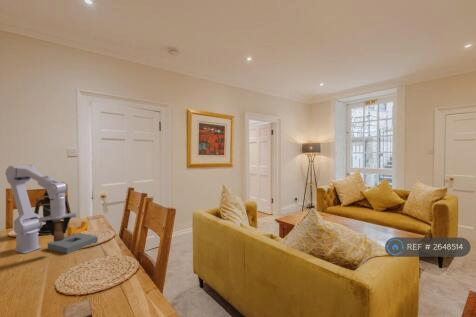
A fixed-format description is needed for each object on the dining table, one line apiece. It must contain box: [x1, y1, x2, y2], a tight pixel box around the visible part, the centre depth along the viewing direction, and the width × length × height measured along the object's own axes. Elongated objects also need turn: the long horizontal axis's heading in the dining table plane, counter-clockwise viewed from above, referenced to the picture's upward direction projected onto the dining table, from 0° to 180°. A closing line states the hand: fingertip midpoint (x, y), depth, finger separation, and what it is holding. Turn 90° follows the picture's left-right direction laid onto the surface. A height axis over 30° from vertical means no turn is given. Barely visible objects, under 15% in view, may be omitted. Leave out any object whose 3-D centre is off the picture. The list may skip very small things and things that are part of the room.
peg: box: [52, 220, 65, 241], centre depth 112 cm, size 4×4×9 cm
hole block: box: [47, 233, 99, 255], centre depth 123 cm, size 16×16×3 cm
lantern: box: [33, 189, 72, 236], centre depth 145 cm, size 20×16×30 cm
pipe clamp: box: [66, 220, 89, 237], centre depth 140 cm, size 12×4×6 cm, turn 171°
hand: (58, 233), depth 112 cm, fingers closed on peg, 4 cm apart
